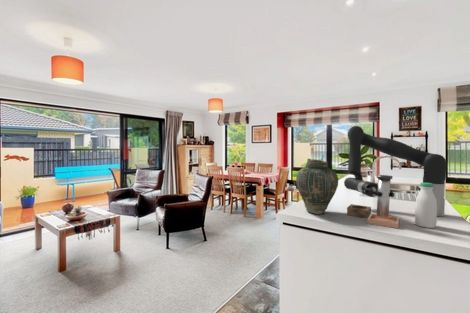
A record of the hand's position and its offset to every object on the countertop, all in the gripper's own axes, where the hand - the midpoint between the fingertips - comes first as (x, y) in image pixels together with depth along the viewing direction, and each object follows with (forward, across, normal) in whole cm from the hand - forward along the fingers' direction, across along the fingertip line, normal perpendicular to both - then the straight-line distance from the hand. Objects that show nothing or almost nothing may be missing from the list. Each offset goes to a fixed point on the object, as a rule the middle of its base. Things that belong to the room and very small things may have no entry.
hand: (386, 194), depth 111 cm
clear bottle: (-3, 0, +10) cm, 11 cm away
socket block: (-17, -4, +14) cm, 22 cm away
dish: (-2, 0, +14) cm, 14 cm away
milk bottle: (+1, +17, +14) cm, 22 cm away
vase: (-20, -26, +15) cm, 36 cm away
